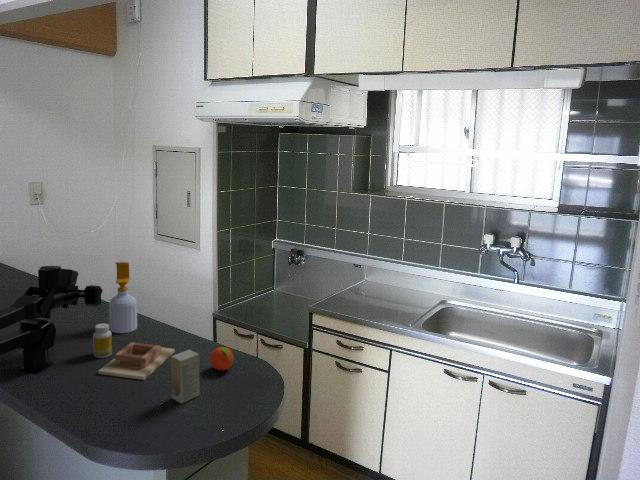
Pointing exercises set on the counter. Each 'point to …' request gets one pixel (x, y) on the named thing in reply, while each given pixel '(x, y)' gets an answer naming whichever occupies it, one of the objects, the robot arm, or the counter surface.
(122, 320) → the soap bottle
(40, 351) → the robot arm
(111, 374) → the maple holder board
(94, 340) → the supplement bottle
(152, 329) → the counter surface
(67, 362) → the counter surface
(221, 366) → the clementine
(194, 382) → the skincare box
